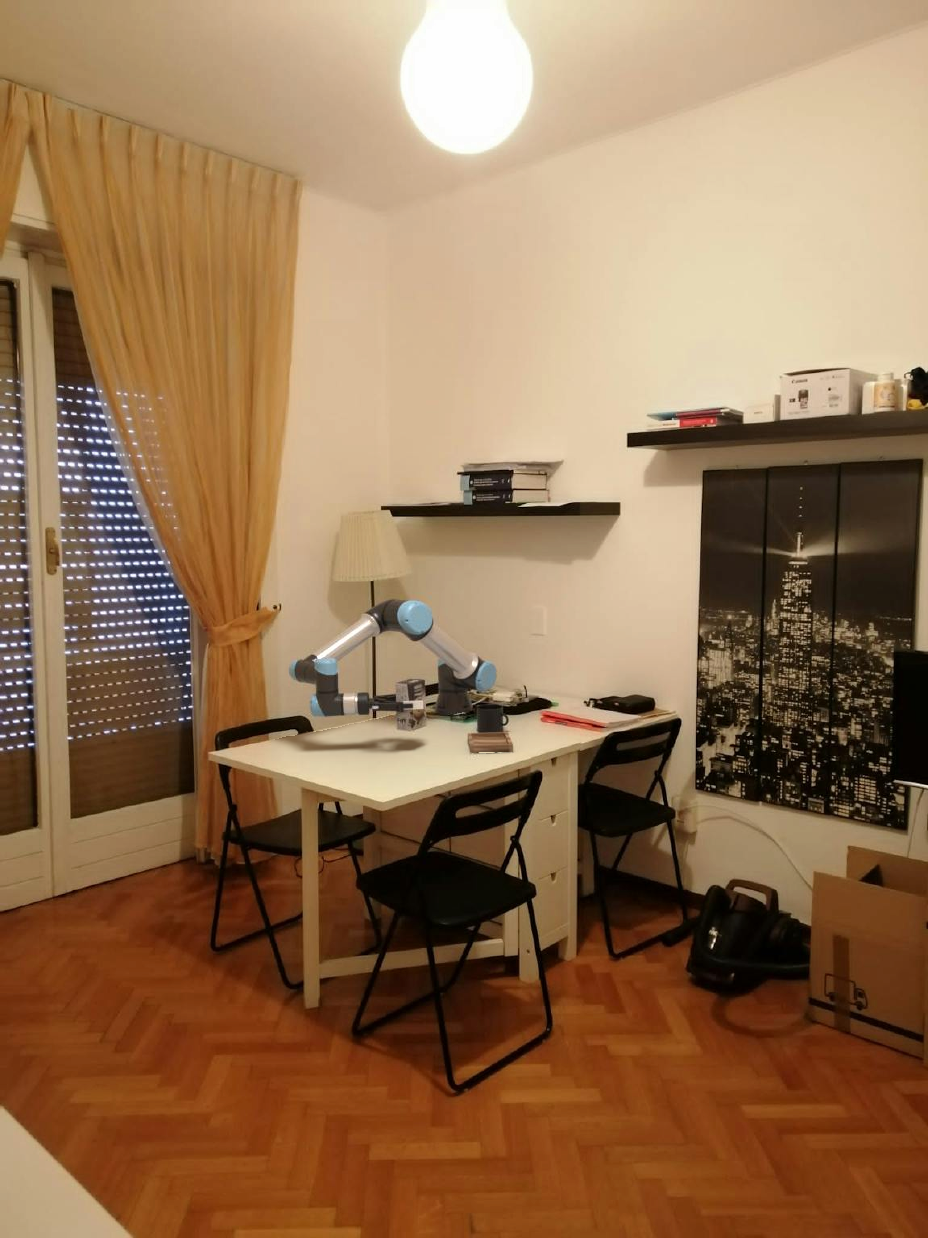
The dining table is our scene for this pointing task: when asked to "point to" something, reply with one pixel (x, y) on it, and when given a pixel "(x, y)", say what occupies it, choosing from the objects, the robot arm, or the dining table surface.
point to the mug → (490, 718)
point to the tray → (490, 742)
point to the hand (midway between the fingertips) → (423, 701)
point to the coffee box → (411, 692)
